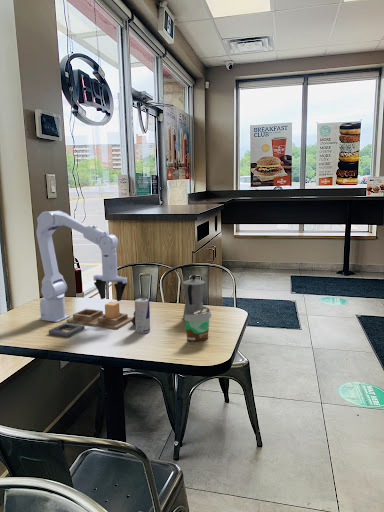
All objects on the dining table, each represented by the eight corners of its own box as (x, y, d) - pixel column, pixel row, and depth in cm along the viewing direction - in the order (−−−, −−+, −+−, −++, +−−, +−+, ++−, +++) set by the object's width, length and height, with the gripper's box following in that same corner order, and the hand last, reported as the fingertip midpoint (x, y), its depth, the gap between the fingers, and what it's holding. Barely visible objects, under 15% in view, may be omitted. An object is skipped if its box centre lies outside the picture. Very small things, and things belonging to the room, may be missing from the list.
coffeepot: (186, 312, 165) (185, 271, 162) (208, 313, 163) (207, 272, 160) (177, 324, 150) (177, 279, 147) (201, 325, 148) (201, 280, 145)
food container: (200, 346, 128) (199, 317, 126) (184, 342, 131) (184, 314, 130) (217, 334, 138) (217, 308, 137) (202, 331, 142) (202, 305, 140)
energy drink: (152, 329, 144) (151, 298, 142) (146, 334, 139) (145, 302, 137) (139, 328, 146) (138, 297, 144) (133, 332, 141) (132, 301, 139)
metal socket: (48, 334, 141) (48, 330, 140) (65, 326, 149) (65, 322, 148) (68, 337, 137) (68, 333, 137) (84, 329, 145) (84, 325, 145)
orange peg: (105, 321, 151) (104, 304, 150) (111, 318, 155) (110, 301, 154) (114, 322, 150) (113, 305, 149) (119, 319, 153) (119, 302, 152)
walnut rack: (66, 321, 154) (66, 315, 154) (85, 313, 165) (85, 307, 165) (117, 329, 145) (116, 322, 144) (134, 319, 156) (133, 313, 155)
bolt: (141, 319, 163) (141, 330, 148) (131, 313, 162) (129, 324, 147) (148, 307, 162) (148, 317, 148) (137, 301, 162) (136, 311, 147)
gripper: (87, 266, 149) (89, 300, 151) (119, 268, 143) (121, 304, 145) (99, 263, 155) (100, 295, 157) (129, 265, 149) (131, 299, 151)
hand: (111, 299), depth 152 cm, fingers open, 7 cm apart
